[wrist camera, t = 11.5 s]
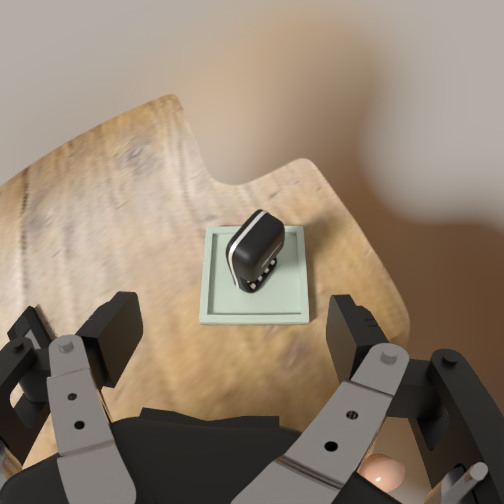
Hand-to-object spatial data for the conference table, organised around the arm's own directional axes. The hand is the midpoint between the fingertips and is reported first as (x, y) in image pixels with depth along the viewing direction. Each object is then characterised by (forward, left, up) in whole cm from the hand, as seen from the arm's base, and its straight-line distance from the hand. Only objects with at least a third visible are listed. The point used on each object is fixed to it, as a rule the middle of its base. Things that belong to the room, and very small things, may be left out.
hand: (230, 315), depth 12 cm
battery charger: (+1, +12, -27) cm, 29 cm away
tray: (0, +12, -27) cm, 30 cm away
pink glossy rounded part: (+16, -16, -27) cm, 35 cm away
